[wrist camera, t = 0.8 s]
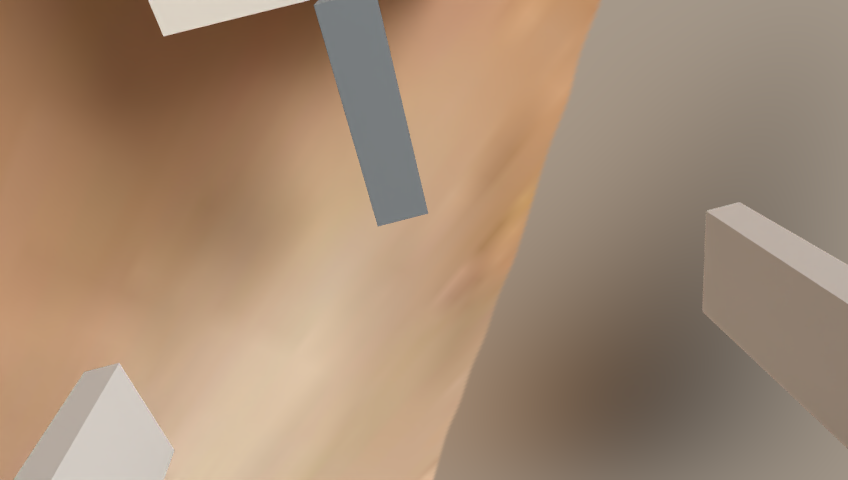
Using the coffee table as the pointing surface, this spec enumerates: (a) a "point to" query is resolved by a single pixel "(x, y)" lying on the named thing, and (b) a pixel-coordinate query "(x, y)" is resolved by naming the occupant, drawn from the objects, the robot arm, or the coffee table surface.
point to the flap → (342, 89)
